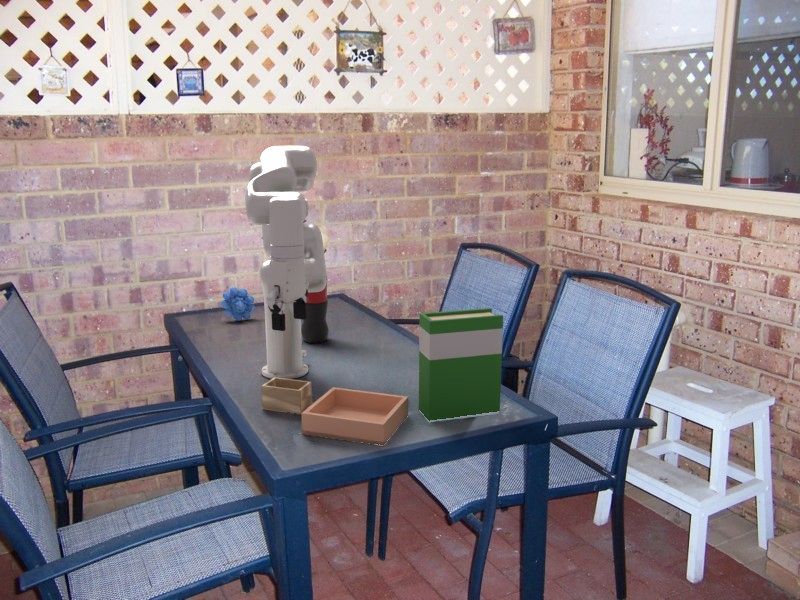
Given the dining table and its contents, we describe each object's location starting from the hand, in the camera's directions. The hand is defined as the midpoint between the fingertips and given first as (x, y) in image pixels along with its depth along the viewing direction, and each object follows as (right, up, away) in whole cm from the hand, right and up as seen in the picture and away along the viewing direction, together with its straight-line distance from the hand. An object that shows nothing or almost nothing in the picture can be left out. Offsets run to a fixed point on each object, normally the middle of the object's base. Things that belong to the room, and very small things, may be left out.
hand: (289, 324), depth 170 cm
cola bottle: (-1, -7, +60) cm, 61 cm away
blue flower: (-29, -2, +82) cm, 87 cm away
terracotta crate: (+16, -23, -4) cm, 28 cm away
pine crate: (-2, -20, +7) cm, 22 cm away
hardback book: (+40, -21, +4) cm, 45 cm away
